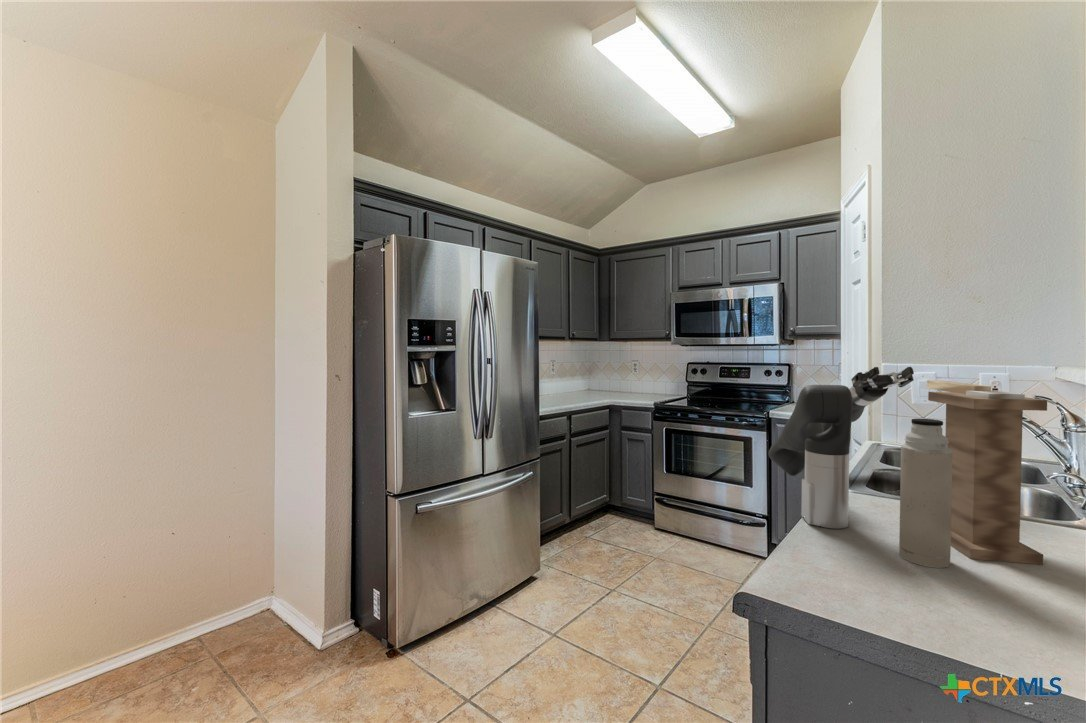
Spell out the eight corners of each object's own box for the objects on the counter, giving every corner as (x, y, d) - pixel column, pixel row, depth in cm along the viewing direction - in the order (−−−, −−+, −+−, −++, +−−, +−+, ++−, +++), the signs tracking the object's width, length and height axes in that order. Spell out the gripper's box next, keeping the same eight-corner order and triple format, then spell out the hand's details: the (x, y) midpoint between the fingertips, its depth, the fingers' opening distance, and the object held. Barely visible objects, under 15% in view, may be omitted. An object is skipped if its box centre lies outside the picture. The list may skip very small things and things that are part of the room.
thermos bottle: (890, 549, 100) (892, 416, 99) (931, 551, 99) (933, 416, 98) (916, 567, 92) (918, 422, 91) (960, 568, 91) (964, 422, 90)
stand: (970, 558, 96) (973, 399, 95) (925, 529, 111) (928, 391, 110) (1042, 564, 93) (1047, 400, 92) (986, 533, 108) (990, 392, 108)
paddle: (988, 398, 95) (988, 388, 95) (919, 388, 119) (919, 380, 119) (1024, 399, 94) (1024, 389, 94) (947, 388, 118) (947, 380, 118)
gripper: (895, 401, 146) (926, 382, 131) (844, 401, 148) (869, 382, 134) (889, 379, 149) (918, 357, 134) (839, 379, 151) (863, 357, 137)
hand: (894, 369), depth 134 cm, fingers open, 8 cm apart
